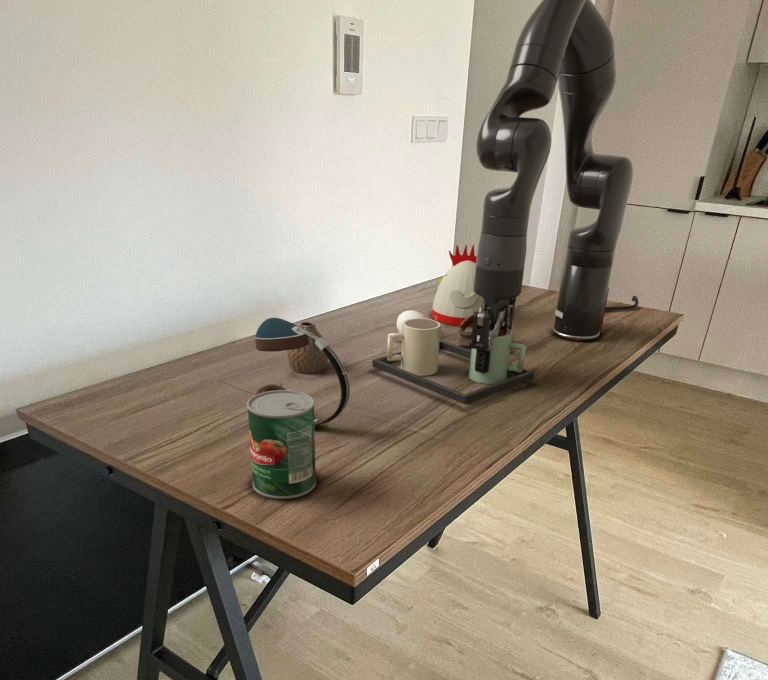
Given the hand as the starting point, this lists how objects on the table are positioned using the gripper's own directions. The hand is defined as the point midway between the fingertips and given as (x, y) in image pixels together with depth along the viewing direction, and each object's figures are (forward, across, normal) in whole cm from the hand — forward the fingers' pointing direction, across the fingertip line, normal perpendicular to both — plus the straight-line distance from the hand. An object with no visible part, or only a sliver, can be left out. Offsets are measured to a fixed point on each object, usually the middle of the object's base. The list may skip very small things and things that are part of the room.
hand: (488, 365), depth 119 cm
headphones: (+3, -31, +21) cm, 37 cm away
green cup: (+2, 0, -1) cm, 2 cm away
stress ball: (+3, +15, +21) cm, 26 cm away
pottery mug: (+3, +17, +7) cm, 19 cm away
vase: (+3, -12, +28) cm, 31 cm away
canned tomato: (+3, -46, +10) cm, 48 cm away
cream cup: (+2, -4, +13) cm, 13 cm away
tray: (+3, -1, +6) cm, 7 cm away
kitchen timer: (+3, +35, +18) cm, 40 cm away
